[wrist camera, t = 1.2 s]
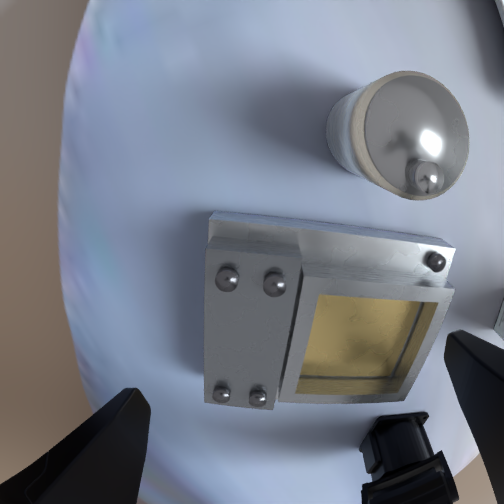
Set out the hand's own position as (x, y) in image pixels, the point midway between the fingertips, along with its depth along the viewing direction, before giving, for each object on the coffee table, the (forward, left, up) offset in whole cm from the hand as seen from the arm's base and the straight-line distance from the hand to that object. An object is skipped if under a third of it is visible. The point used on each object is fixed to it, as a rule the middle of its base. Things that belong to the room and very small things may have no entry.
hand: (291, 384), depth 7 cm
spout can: (-5, -7, -13) cm, 15 cm away
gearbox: (-4, +6, -13) cm, 15 cm away
